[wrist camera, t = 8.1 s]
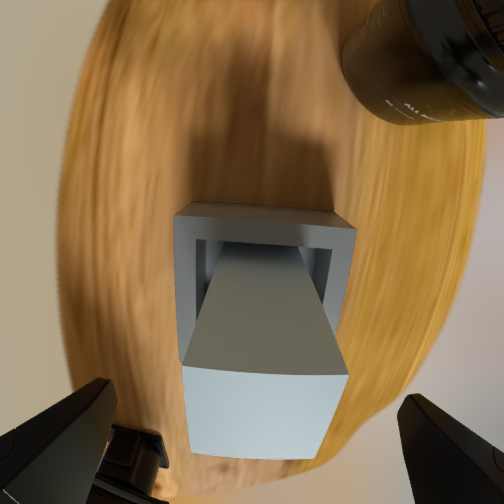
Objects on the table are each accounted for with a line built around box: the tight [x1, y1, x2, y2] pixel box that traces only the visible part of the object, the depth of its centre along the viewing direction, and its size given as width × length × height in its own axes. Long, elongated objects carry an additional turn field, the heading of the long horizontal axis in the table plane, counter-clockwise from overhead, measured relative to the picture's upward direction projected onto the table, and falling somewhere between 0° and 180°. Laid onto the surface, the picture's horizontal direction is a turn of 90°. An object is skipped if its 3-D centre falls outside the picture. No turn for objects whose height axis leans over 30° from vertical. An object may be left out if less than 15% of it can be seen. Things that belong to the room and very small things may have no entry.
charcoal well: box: [174, 201, 357, 363], centre depth 16 cm, size 8×8×4 cm
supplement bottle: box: [342, 0, 504, 125], centre depth 8 cm, size 7×7×12 cm
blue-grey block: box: [182, 243, 349, 459], centre depth 12 cm, size 4×4×10 cm
